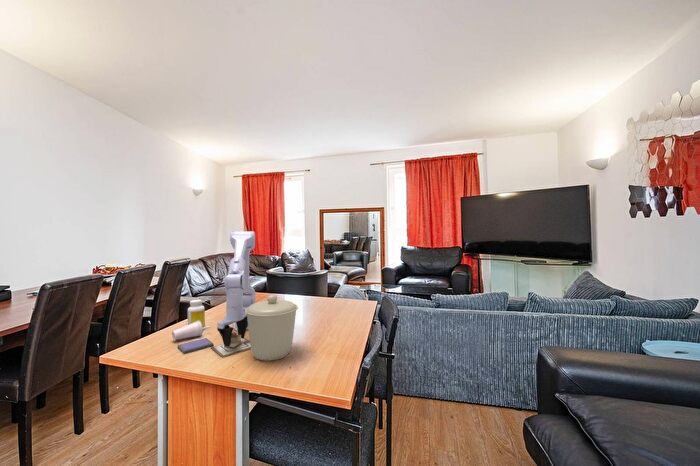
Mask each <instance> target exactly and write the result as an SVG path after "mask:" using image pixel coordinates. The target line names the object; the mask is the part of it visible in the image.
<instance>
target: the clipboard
mask: <svg viewBox="0 0 700 466" xmlns="http://www.w3.org/2000/svg"><path fill="white" fill-rule="evenodd" d="M241 343H242V345H240V346H238V347H236V348H235V349H230V348H224V343H223V344H219V345H215V346H212V347H210V349H211V350H212V351H213V352H214V353H216V354H217V355H218V356H219V357H220V358H221V359H224V358H227V357H230V356H233V355H236V354H239V353H240V354H241V353H243V352H246V351H248V350H250V351H251V346H250V339H249V340H248V339H247V338H245V337H244V338H243V339H241Z"/></svg>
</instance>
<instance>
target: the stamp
mask: <svg viewBox="0 0 700 466" xmlns="http://www.w3.org/2000/svg"><path fill="white" fill-rule="evenodd" d="M240 345H242V343H241V335H238V332H233V331H232V335H231V344H230V346H224V348H230V349H235V348H236V347H238V346H240Z"/></svg>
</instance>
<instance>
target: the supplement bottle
mask: <svg viewBox="0 0 700 466" xmlns="http://www.w3.org/2000/svg"><path fill="white" fill-rule="evenodd" d="M202 303H203V300H202V299H193V300H190V301H189V305H190V306H189V307H188V308H187V325H189V324H192V323H194V322H195V321H200V322H201V324H202V328H204V327H206V318H205V317H206V314H205V313H206V312H205V311H206V310H205V306H204V305H202Z"/></svg>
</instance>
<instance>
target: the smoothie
mask: <svg viewBox="0 0 700 466" xmlns="http://www.w3.org/2000/svg"><path fill="white" fill-rule="evenodd" d="M211 327H212V326H211V325H207V326H205V327H204V328H202V324H201V322H200V321H195V322H194V323H192V324H189V325H188V324H187V325H184V326H182V327H179V328H177V329H174V330H172V331H171V337H172V340H173V341H179V340H183V339H188V338H189V339H190V338H193V337H194V338H195V337H200V336H202V335H203V333H204V332H203V331H204V330H205V329H208V328H211Z"/></svg>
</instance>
